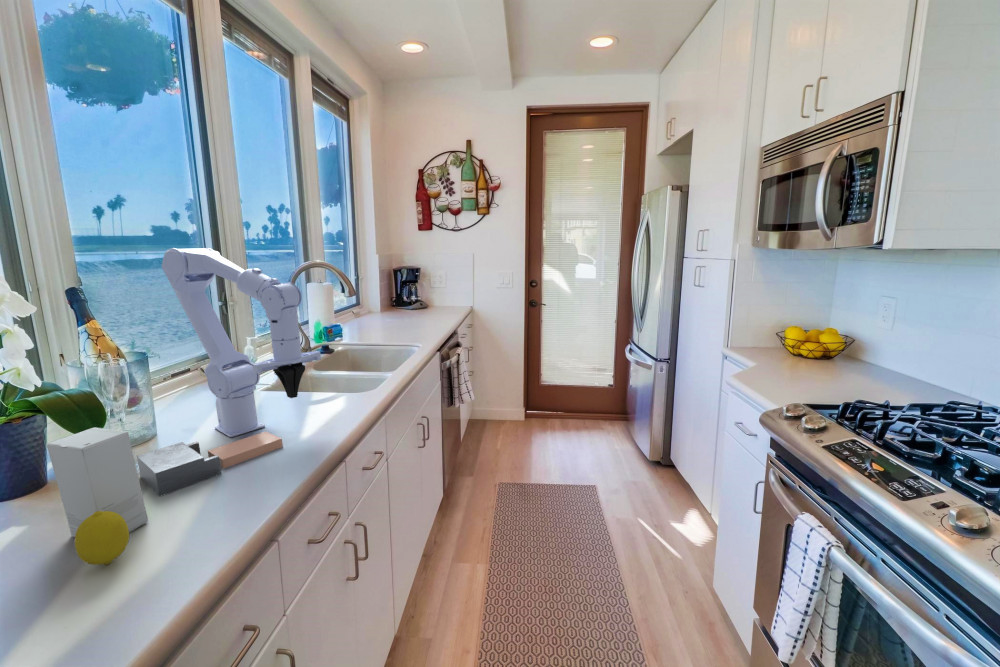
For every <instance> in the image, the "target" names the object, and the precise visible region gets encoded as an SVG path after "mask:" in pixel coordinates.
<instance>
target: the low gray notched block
mask: <svg viewBox="0 0 1000 667" xmlns="http://www.w3.org/2000/svg"><path fill="white" fill-rule="evenodd" d="M136 459H137V460H136V461H137V464H138V470H139V475H140V478H141V477H142V478H143V479H142V478H141V479H142V480H143V481H144V482H145V483H146V485H148V487H150V489H152V491H154V493H155V494H156V495H157V496H159V497H161V495H162V496H164V494H165V495H168V494H169V493H172V492H175V491H178V490H181V489H183V488H186V487H188V486H189V487H190V486H192V485H196V484H197V483H201V482H203V481H205V480H209V479H211V478H214V477H216V475H217V476H220V475H222V467H221V466H220V460H219V456H218V455H216V456H213V457H210V458H209V457H207V458H205V457H204V456H202V453H201V448H200V443H199V442H198V441H194V442H191V443H188V444H187V443H185V442H183V441H182V442H178V443H174V444H172V445H168V446H165V447H161V448H158V449H154V450H152V451H148V452H144V453H141V454H138V455H136ZM213 476H214V477H213Z"/></svg>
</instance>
